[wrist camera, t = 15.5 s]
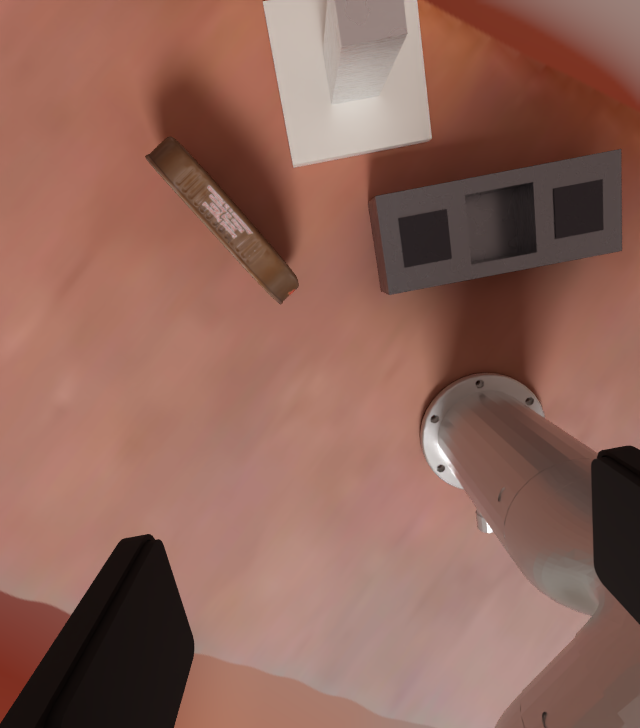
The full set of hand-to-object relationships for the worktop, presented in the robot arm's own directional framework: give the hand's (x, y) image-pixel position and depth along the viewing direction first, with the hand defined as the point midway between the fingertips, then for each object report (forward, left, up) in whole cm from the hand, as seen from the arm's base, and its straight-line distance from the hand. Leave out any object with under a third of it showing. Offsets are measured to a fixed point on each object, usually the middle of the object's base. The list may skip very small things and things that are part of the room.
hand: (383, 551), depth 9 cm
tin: (+10, +6, -33) cm, 35 cm away
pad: (+20, -6, -32) cm, 38 cm away
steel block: (+20, -6, -31) cm, 38 cm away
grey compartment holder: (+6, -16, -32) cm, 37 cm away
